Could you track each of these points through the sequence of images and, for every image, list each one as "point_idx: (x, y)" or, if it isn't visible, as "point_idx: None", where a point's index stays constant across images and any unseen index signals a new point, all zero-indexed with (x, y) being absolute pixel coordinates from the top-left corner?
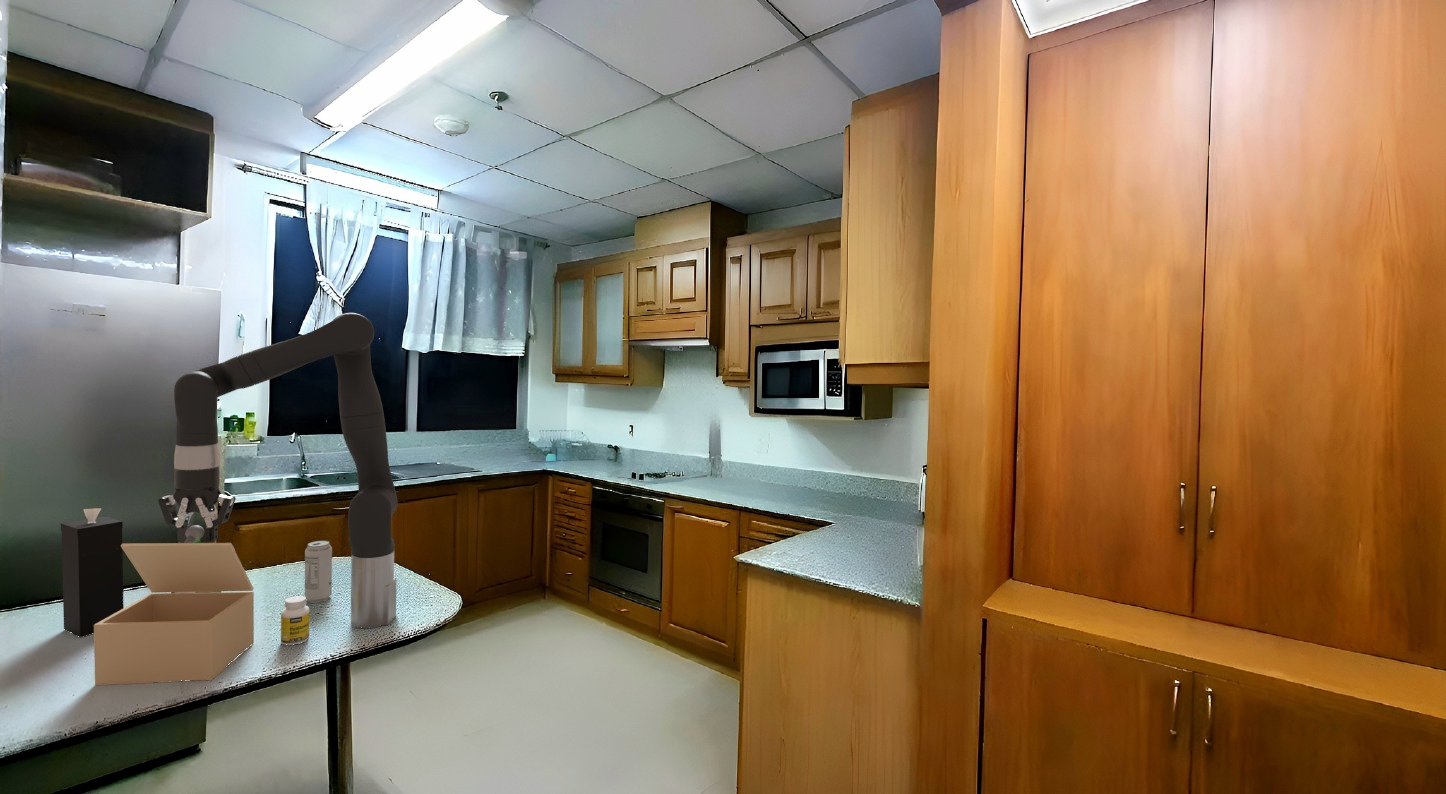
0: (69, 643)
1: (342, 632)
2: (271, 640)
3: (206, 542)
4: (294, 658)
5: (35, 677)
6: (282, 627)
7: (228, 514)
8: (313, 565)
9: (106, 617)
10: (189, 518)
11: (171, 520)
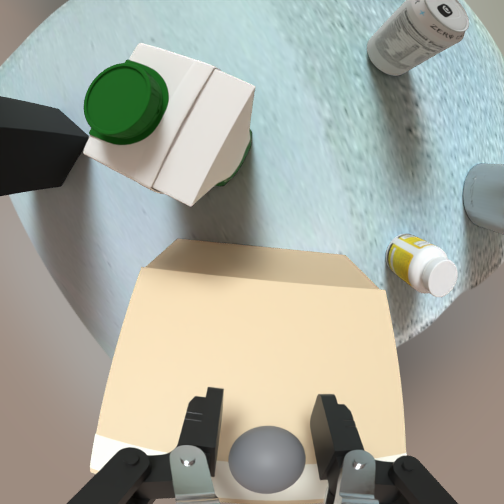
0: (59, 204)
1: (456, 232)
2: (368, 244)
3: (312, 428)
4: (408, 315)
5: (93, 312)
6: (402, 278)
7: (429, 489)
8: (425, 50)
9: (65, 157)
10: (212, 485)
11: (151, 499)
